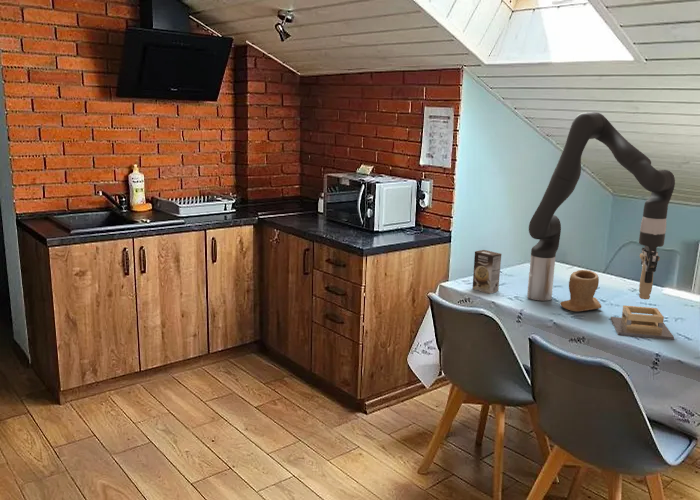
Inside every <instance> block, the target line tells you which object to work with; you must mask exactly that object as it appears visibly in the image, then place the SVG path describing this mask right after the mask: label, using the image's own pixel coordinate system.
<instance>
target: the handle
mask: <svg viewBox="0 0 700 500" xmlns="http://www.w3.org/2000/svg"><path fill="white" fill-rule="evenodd" d="M658 257H659V259H658V262H659V261H660V259H661V258H660V256H659V255H658ZM639 259H640V260H641V259H642V260H643V268H642V267H641V268H642V269H641V274H640V279H639V287H638V288H639V289H638V290H639V293H638V294H639V295H638V296H639V298H640V299H642V300H649V299H650V298H651V293H652V289H653V282H654V276H653V277H652V283H645V282H644V279H645V272H646V271H645V269H646V265H645V264H644V261H645V256H644V254H643V253H642V252H641V253H639ZM647 262H649V259H648V257H647ZM650 268H652V266H650Z"/></svg>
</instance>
